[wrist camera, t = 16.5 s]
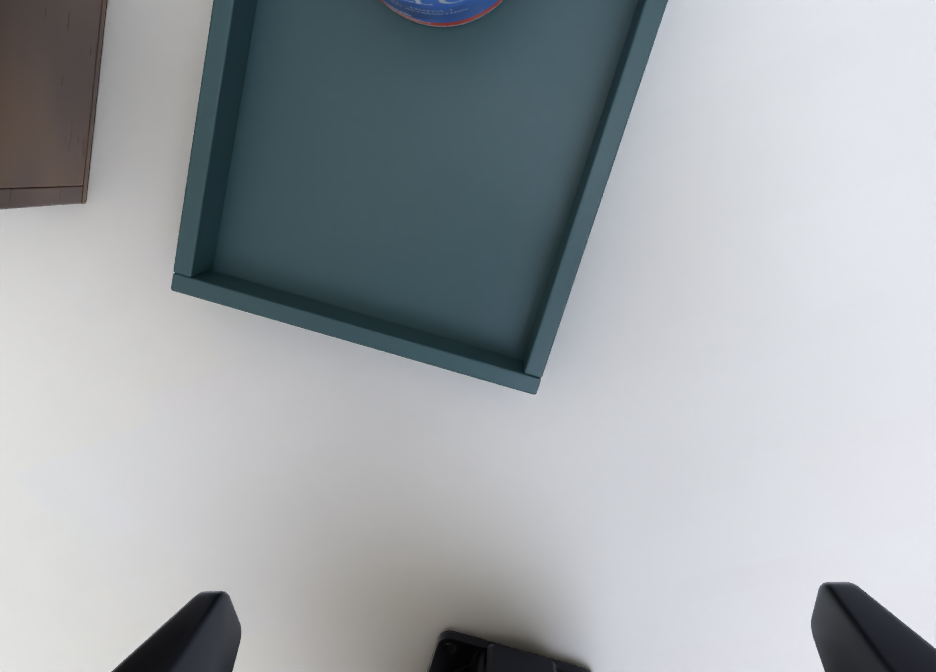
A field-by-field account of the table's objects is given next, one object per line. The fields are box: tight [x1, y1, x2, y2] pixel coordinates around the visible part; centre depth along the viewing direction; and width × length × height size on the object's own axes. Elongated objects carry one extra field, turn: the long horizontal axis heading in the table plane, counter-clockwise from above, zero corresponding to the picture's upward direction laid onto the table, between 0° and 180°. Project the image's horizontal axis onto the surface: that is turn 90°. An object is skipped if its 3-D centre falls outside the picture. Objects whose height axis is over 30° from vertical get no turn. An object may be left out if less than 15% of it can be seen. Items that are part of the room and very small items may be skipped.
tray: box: [171, 0, 668, 394], centre depth 18 cm, size 19×12×2 cm, turn 164°
